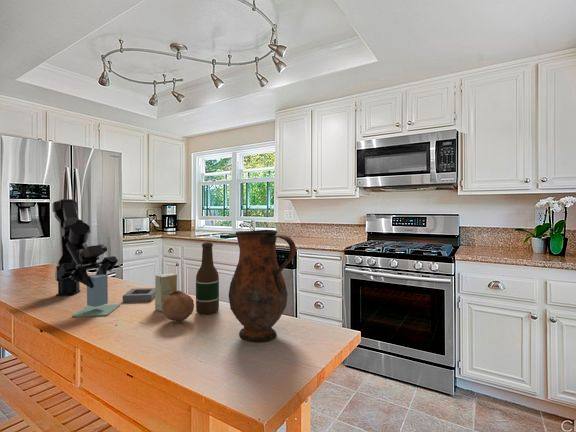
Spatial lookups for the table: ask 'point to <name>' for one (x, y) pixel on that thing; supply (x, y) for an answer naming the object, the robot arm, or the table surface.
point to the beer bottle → (207, 284)
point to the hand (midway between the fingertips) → (99, 285)
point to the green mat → (96, 310)
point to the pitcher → (259, 284)
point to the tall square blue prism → (98, 290)
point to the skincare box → (164, 288)
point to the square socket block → (139, 295)
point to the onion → (178, 306)
